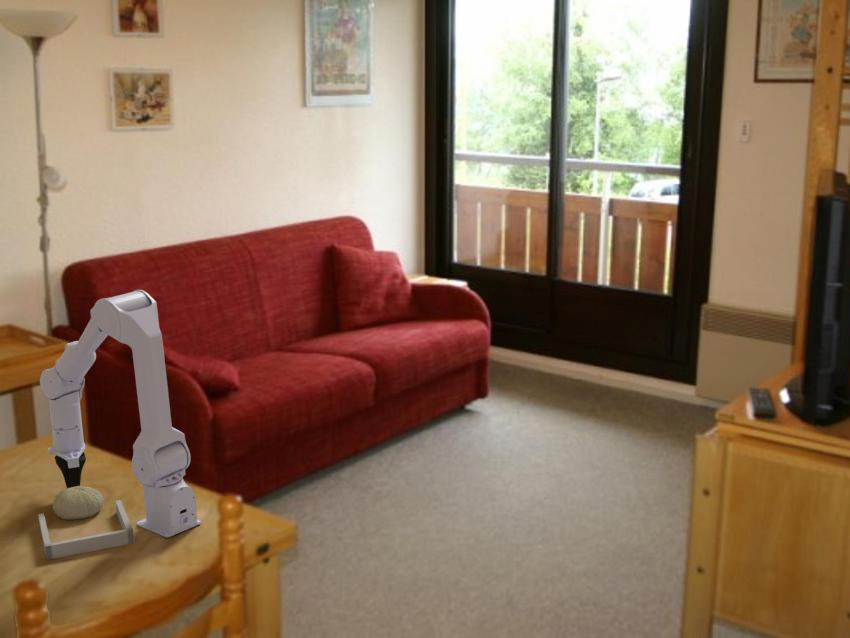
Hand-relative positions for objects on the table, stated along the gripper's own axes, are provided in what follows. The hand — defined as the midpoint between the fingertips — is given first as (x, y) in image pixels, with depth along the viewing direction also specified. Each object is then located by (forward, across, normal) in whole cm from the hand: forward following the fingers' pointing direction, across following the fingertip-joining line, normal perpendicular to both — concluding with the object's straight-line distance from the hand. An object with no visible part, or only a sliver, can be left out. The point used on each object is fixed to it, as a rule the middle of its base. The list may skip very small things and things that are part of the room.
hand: (73, 489), depth 210 cm
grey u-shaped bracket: (+1, +20, 0) cm, 20 cm away
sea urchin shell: (+2, +8, 0) cm, 9 cm away
